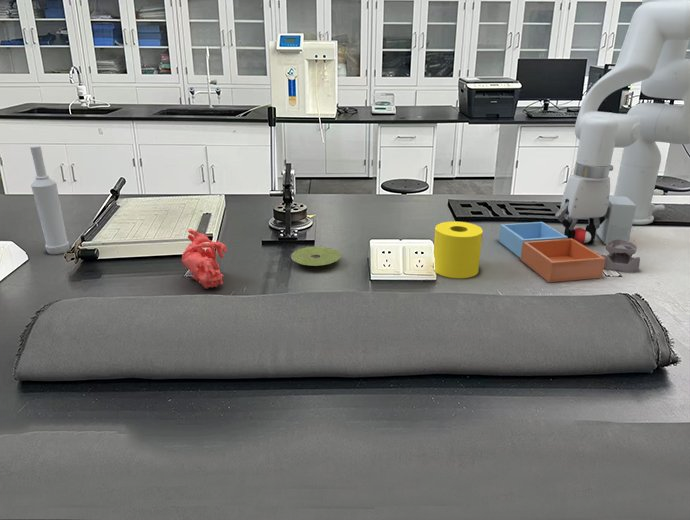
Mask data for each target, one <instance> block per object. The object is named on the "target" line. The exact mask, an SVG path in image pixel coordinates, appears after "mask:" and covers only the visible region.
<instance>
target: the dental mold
mask: <svg viewBox="0 0 690 520" xmlns="http://www.w3.org/2000/svg"><path fill="white" fill-rule="evenodd" d="M605 250H606V251H607V253H608V254H600V255H601V256H602V257H604V258H606V260H605V264H604V269H605V270H611V271H617V272H624V273H637V272H638V271H639V267H640V264H641V263H640V262H641V257H640V256H637V257H633V255H635V254H636V252H637V250H638V246H637V245H636V244H634V243H633V242H631V241H629V242H628V241H624V240H615V239H614V240H611V241H609V242H607V244H605Z"/></svg>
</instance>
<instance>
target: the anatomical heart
mask: <svg viewBox="0 0 690 520" xmlns="http://www.w3.org/2000/svg"><path fill="white" fill-rule="evenodd" d="M187 232H188V235H187V238H188V240H189V241H191V243H189V244H188V246H186V248H185V250H184V251H183V252H182V255H181V262H182V264H183V265H184V266H185V268H186V269H187V270H188V271H189V272H190V273H191V274H192V275H191V276H190V277H191V278H192V279H193V280H194V281H196V282H198V283H199V285H201V286H202V287H203V288H204V289H209V288H217V287H218V286H219V285H221V286H222V285H224V280H223V278H224V274H223V273H221V270H220V265H219V263H218V261H217V254H218V256H219V258H220V259H223V258H224V257H225V256H224V254H225V253H227V252H228V249H227V248H228V247H227V246H226V244H224V243H223V242H222V241H219V239H218V240H216V241H213V240H211V239H210V238H209V237H208V236H207V234H206V233H204V234H203V233H201V232H200V233H199V232H198V230H194V229H192V228H189V229H187Z"/></svg>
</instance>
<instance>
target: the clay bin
mask: <svg viewBox="0 0 690 520" xmlns="http://www.w3.org/2000/svg"><path fill="white" fill-rule="evenodd" d="M601 255H602V254H599V253H598V252H596V251H595V250H592V249H591V248H589V247H588V246H586V245H584V244H581V243H579V242H577V241H576V240H574V239H572V238H570V239H557V240H542V241H528V242H523V245H522V252H521V258H520V261H521V262H522V263H524V264H525V265H527V266H528V267H529V268H530V269H531V270H533V271H534V272H535V273H536V274H538V275H539V276H540V277H541V278H543V279H544V280H546V281H547V282H548V283H556V282H557V283H558V282H567V281H578V280H580V281H581V280H591V279H601V278H603V273H604V269H605V268H604V264H605V260H606V258H604V257H602V256H601Z"/></svg>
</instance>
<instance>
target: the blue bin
mask: <svg viewBox="0 0 690 520" xmlns="http://www.w3.org/2000/svg"><path fill="white" fill-rule="evenodd" d="M557 239H568V237H567V236H565V235H564V233H562V232H560V231H559V230H557V229H555V228H554V227H552V226H550V225H549V224H547V223H545V222H543V221H533V222H517V223H504V224H503V223H501V224H500V228H499V235H498V242H499V243H501V245H503V246H504V247H505V248H507V249H509V251H511V252H512V253H513V254H514V255H516V257H518V258H519V259H521V252H522V245H523V242H528V241H542V240H557Z"/></svg>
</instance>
